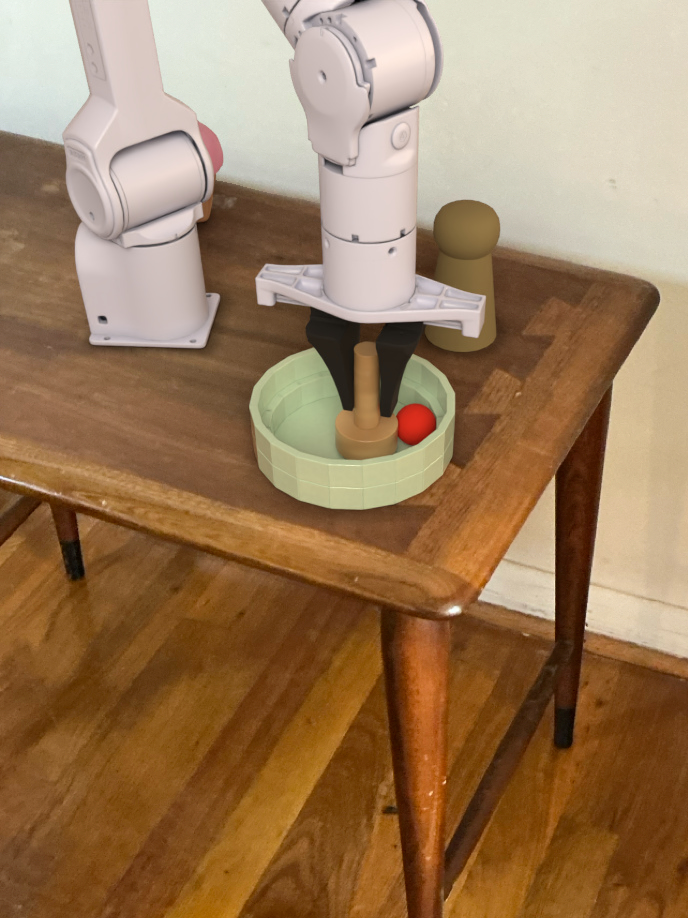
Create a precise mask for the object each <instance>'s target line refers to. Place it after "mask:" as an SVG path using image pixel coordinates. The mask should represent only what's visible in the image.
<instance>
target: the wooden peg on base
mask: <svg viewBox="0 0 688 918" xmlns="http://www.w3.org/2000/svg"><path fill="white" fill-rule="evenodd" d="M380 382H381V378H380V368H379V361H378V355H377V351H376V342H374V341H361V342H360V343H358V344H357V345H356V346H355V347H354V409H353V411H347V410H342V411H341V412H340V413H339V414H338V415H337V417H336V420H335V445H336V449H337V451H338V452H339V454H340V455H341V456H343V457H344V458H346V459H347V460H364V459H370V458H376V457H382V456H388V455H393V454H394V453H395V451H396V449H397V441H398V420H397V418H396V416H395V414H394V413H392V416H391V417H390V418H388V417H382V416H380V407H379V405H380Z"/></svg>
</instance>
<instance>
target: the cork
mask: <svg viewBox="0 0 688 918" xmlns="http://www.w3.org/2000/svg"><path fill="white" fill-rule="evenodd" d="M433 219H434V220H433V228H432V229H433V230H432V233H433V234H432V235H433V238H434V239H433V240H434V243H435V245H437V247H438V254H437V259H436V264H435V270H434V276H433V280H434V281H437V282H439V283H442V284H445V285H448V286H450V287H453V288H456V289H459V290H462V291H465V292H469V293H473V294H479V295H485V296H486V304H485V316H484V323H483V326H482V329H481V332H480V334H479V337H478V338H473V337H467V336H463V335H462V330H459V329H453V328H446V327H440V326H433V325H426V327H425V329H424V335H425V337H426V339H427V340H428V341H429V342H430V343H431V344H432V345H434V346H435V347H438V348H439V349H442V350H444V351H449V352H454V353H469V352H477V351H479V350H483V349H485V348H487V347H488V346H490V345H491V344H493V343H494V341H495V339H496V338H497V322H496V305H495V304H496V303H495V289H494V288H495V287H494V273H493V272H494V271H493V255H492V254H493V253H492V251H493V250H494V249H495V247H496V246H497V244H498V242H499V239H500V236H501V222H500V221H501V220H500V217H499V216H498V213H497V212H496V210H495V209H494V208H493V206H490V205H489V204H487V203H485V202H483V201H480V200H474V199H458V200H453V201H450V202H447V203H445V204H444V205H442V206H441V207H440V209H439V210H438V211H437V213H436V214H435V216H434V218H433Z"/></svg>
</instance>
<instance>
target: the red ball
mask: <svg viewBox="0 0 688 918" xmlns="http://www.w3.org/2000/svg"><path fill="white" fill-rule="evenodd" d="M396 418H397V420H398V437H399V439H400V440H401V441H403V442H404V443H406V444H408V445H412V446H415V445H417V444H419V443H420V442H421V441H423V440H424V439H425V438H426V437H428V436H429V435H430V434H431V433H433V432H434V431H435V430H436V419H435V416H434V414H433V413H432V411H431V410H430V409H429V408H428V407H426V406H424V405H422V404H416V403H414V404H409V405H406V406H404V407H403V408H402V409H401V410H400V411H399V412H398V413H397V415H396Z"/></svg>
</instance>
